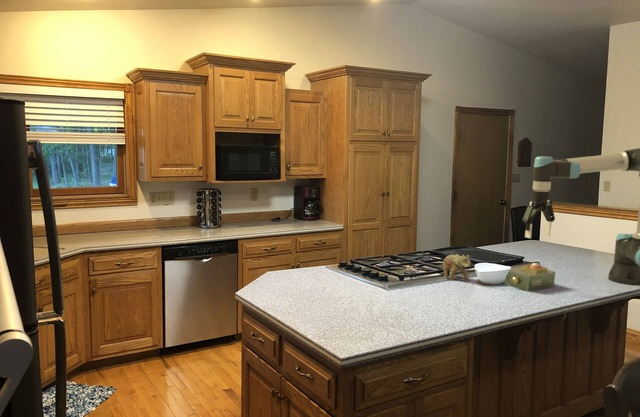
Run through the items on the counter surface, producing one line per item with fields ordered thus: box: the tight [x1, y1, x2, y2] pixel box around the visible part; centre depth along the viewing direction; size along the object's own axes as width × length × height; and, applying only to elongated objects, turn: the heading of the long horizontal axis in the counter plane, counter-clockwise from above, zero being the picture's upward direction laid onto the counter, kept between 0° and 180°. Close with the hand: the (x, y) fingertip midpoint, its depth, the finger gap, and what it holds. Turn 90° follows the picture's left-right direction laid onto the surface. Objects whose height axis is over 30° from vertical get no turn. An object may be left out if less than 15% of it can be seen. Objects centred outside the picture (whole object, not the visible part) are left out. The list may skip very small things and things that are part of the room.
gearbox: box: [504, 264, 556, 293], centre depth 245 cm, size 20×13×8 cm, turn 121°
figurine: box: [442, 253, 472, 282], centre depth 254 cm, size 10×16×16 cm, turn 14°
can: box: [529, 262, 541, 269], centre depth 247 cm, size 5×5×9 cm
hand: (537, 236), depth 245 cm, fingers open, 13 cm apart
